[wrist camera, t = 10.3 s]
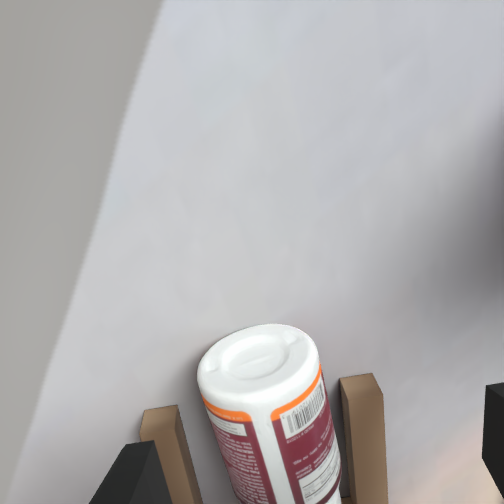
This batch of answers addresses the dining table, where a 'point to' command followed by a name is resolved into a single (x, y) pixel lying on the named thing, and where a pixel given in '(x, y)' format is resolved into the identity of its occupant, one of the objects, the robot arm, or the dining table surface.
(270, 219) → the dining table surface
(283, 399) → the pill bottle
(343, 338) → the dining table surface
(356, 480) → the socket block
